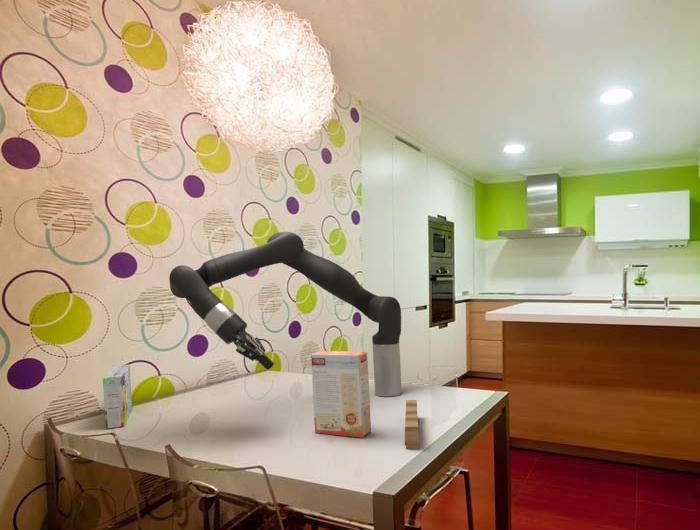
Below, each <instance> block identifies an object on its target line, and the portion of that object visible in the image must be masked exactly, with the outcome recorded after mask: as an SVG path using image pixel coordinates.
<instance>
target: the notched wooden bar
mask: <svg viewBox="0 0 700 530" xmlns="http://www.w3.org/2000/svg"><path fill="white" fill-rule="evenodd" d="M419 437H420V436H419V417H418V400H417V399H406V401H405V417H404V446H405V450H420V439H419Z"/></svg>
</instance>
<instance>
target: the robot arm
mask: <svg viewBox="0 0 700 530" xmlns="http://www.w3.org/2000/svg"><path fill="white" fill-rule="evenodd" d="M304 244H305V243H304V241H303V239H302V237H301V236H300V235H298V234H297V233H294V232H292V231H280V232H276V233H274V234H272V235H270V236H269V238H267V242H266V243H264V244H261V245H259V246H255V247H252V248H248V249H244V250H239V251H234V252H232V253H228V254H227V253H226V254H224V255H220V256H218V257H215V258H211V259H208V260H206V261H204V262H203V263H202V264H201V266H200V268H199V267H198V268H197V269H196V270H195V269H193V268H192V267H190V266H188V265H182V264H181V265H177V266H175V267H174V268H172V270H171V271H170V272H169V273H170V274H169V278H168V279H169V288H170V289H169V290H170V292H171V293H172V295H173V296H175V298H178V299H179V298H180V299H186V300H187V301H188V302H189V304H190V306H191V308H192V310H193V311H194V313H196V315H197V316H199V317H200V319H202V320H203V321H204V323H205V324H206V325H207V326H208V327H209V328H210V329H211V330H212V331H213V332H214V334H216V335H217V336H218V338H220V339H221V340H222V341H223V342H224V343H225V344H226V345H230V344H232V343H233V344H234V345H235V346H236V349H235V351H236V352H237V353H238V354H239V355H241V356H243V357H245V358H247V359H249V360H251V361H255V362H258V363H259V364H260V365H261V366H262V367H263V368H264V369H265V370H267V371H268V370H270V369H272V368H273V366H275V362H274V361H272V360H271V358H269V356H267V354H266V349H265V346H264V345H263V344H262V342H261V340H260V339H259V337H254V336H253V334H251V333H248V332H247V331H246V329H247V328H248V324H247V322H246V321H245V320H244V319H243V318H242V317H240V315H239V314H238V313H236V311H235V310H233V308H232V307H230V306H229V305H228V304H227V303H225V302H224V301H222V299H220V298H219V297H218V296H217V295H216V294H215V292H213V291H212V290H211V289H210V287H212V286H214V285H216V284H219V283H223V282H226V281H228V280H231V279H234V278H237V277H239V276H242V275H244V274H247V273H249V272H252V271H255V270H259V269H261V268H264V267H268V266H272V265H277V264H283V265H286V266H287V267H290V268H291V269H294V270H295V271H296V272H299V273H301V274H302V275H303V276H305V277H306V278H307V279H308V280H310V281H311V282H313V283H314V284H316V285H317V286H318V287H320V288H321V289H323V290H324V291H326V292H327V293H329V294H331V295H333V296H335V297H336V298H338V299H340V300H341V301H343V302H345V303H346V304H348V305H351V306H352V307H354V308H356V310H358V311H359V312H361V314H362V315H364V316H365V317H367V318H368V319H369V320H370V321H372V322H375V323H377V324H378V330H377V332H376V333H375V334H373V336H372V337H371V340H372V341H371V342H372V356H373V357H372V360H373V379H374V382H373V383H374V386H373V387H374V395H376V396H379V397H396V396H400V395H402V394H403V392H402V391H403V389H402V372H401V371H402V370H401V368H402V367H401V350H400V349H401V348H400V338H401V334H402V309H401V305H400V302H399V300H398V299H397V298H395V297H393V296H386V295H385V296H383V295H381V296H379V295H377V294H374V293H372V292H370V291H368V290H367V289H365V288H364V287H363V286H361V284H360V283H359V281H358V279H357V278H356V277H355V275H353V274H352V273H351V272H350V271H349V270H347V269H345V268H344V267H343V266H341V265H339V264H338V263H335V262H334V261H332V260H329V259H327V258H324V257H323V256H319V255H317V254H314V253H313V252H311V251H309V250H307V249H306V248H305V247H304V246H305V245H304Z"/></svg>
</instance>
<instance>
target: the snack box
mask: <svg viewBox="0 0 700 530" xmlns="http://www.w3.org/2000/svg"><path fill="white" fill-rule="evenodd" d="M131 383H132V382H131V365H130V364H119V365H114V366H112V368H110V370H108V372H107V373H106V375H104V376H103V378H102V388H103V401H104V402H103V405H104V422H105V424H104V425H105V427H104V428H105V430H110V429H118V428H124V427H125V426H126V423H127V421H128V418H129V416H130V414H131V412H132V410H133V402H132V399H133V397H132V387H131Z"/></svg>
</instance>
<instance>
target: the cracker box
mask: <svg viewBox="0 0 700 530" xmlns="http://www.w3.org/2000/svg"><path fill="white" fill-rule="evenodd" d="M368 361H369V360H368V352H367V351H347V350H346V351H345V350H342V351H341V350H320V351H317V352H313V353H312V354H311V376H312V395H313V396H312V397H313V398H312V399H313V401H312V403H313V420H314V423H313V424H314V433H315V434H324V435H334V436H343V437H354V438H364V437H365V436H367V435H368V434H369V433H371V432H372V422H371V421H372V419H371V401H370V383H369V366H368V365H369V362H368Z"/></svg>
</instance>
